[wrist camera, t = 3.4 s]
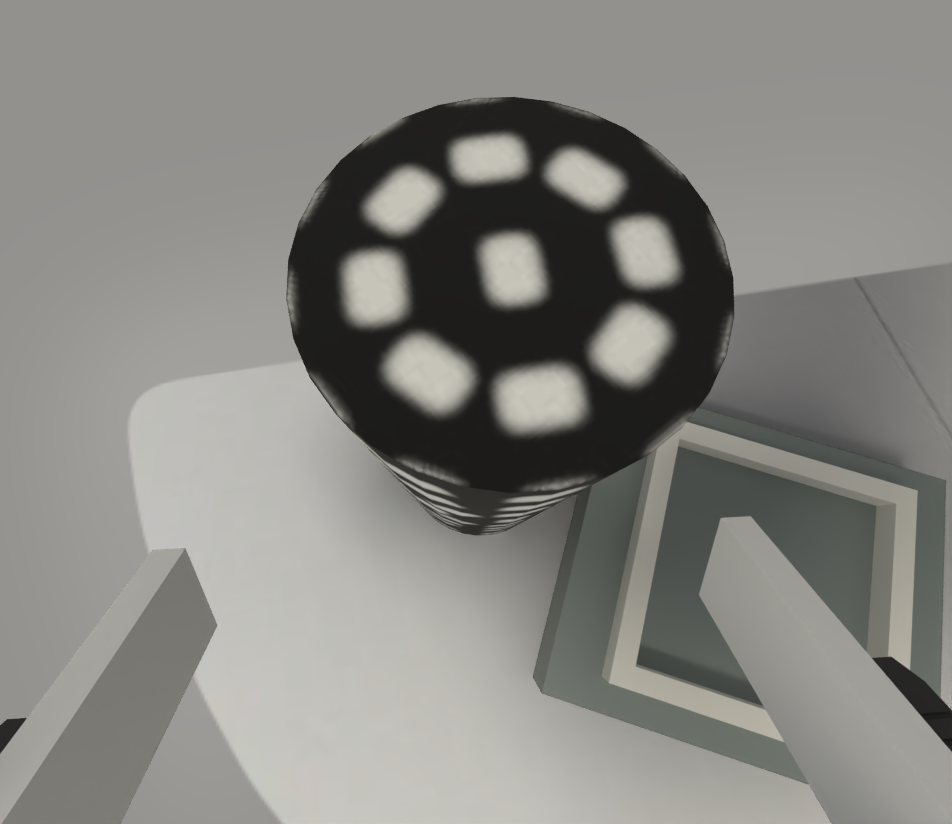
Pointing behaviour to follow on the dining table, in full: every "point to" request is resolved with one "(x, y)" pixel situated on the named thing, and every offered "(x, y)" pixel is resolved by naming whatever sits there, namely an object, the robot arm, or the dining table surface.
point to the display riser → (684, 565)
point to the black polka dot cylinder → (508, 303)
